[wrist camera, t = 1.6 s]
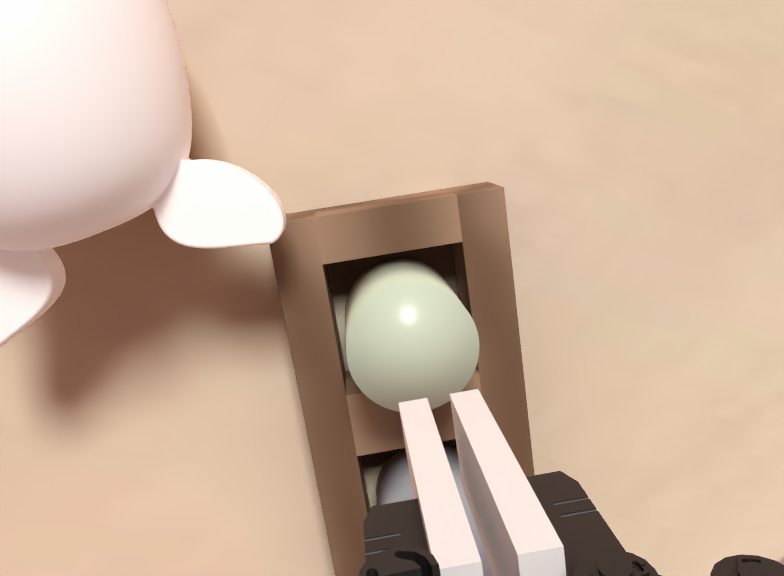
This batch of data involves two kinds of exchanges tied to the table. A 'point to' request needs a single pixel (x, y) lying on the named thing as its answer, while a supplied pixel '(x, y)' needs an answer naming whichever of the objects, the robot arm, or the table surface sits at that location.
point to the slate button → (398, 488)
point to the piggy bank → (103, 145)
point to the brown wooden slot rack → (323, 349)
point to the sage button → (408, 335)
